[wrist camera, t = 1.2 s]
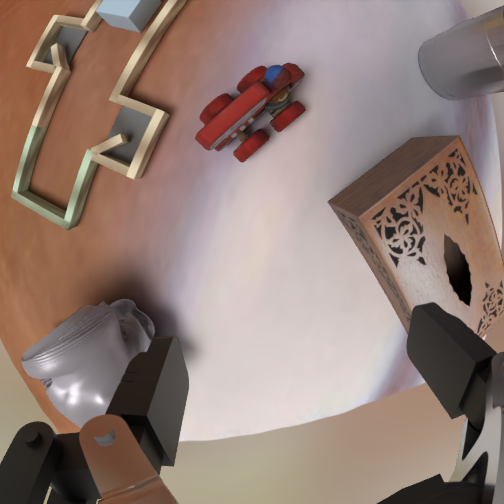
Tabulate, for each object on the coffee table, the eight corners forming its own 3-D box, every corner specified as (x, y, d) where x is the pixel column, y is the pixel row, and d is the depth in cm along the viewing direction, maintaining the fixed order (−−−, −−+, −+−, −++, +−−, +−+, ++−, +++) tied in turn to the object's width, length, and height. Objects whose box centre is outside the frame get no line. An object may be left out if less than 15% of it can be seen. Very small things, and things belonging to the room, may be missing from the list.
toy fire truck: (314, 104, 31) (343, 83, 21) (231, 172, 33) (228, 176, 23) (273, 61, 29) (287, 25, 19) (191, 128, 31) (170, 114, 21)
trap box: (96, -28, 23) (90, -35, 20) (238, 2, 27) (238, -8, 24) (-3, 180, 31) (-13, 182, 29) (115, 245, 35) (107, 251, 32)
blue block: (130, -4, 25) (118, -21, 20) (161, 3, 26) (152, -16, 21) (110, 25, 26) (95, 11, 22) (141, 33, 27) (128, 17, 22)
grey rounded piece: (101, 388, 43) (89, 460, 30) (26, 320, 35) (-10, 390, 22) (190, 342, 42) (196, 427, 29) (109, 253, 34) (74, 329, 21)
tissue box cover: (327, 201, 35) (358, 217, 25) (410, 138, 32) (459, 135, 23) (409, 337, 41) (440, 375, 32) (472, 281, 39) (511, 307, 29)
